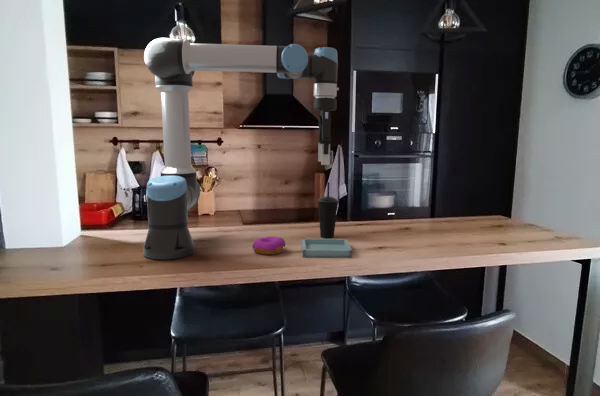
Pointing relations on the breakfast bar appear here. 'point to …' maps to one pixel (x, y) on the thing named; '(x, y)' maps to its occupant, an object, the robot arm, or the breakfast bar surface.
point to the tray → (326, 248)
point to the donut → (269, 245)
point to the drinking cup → (327, 215)
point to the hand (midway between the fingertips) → (323, 163)
